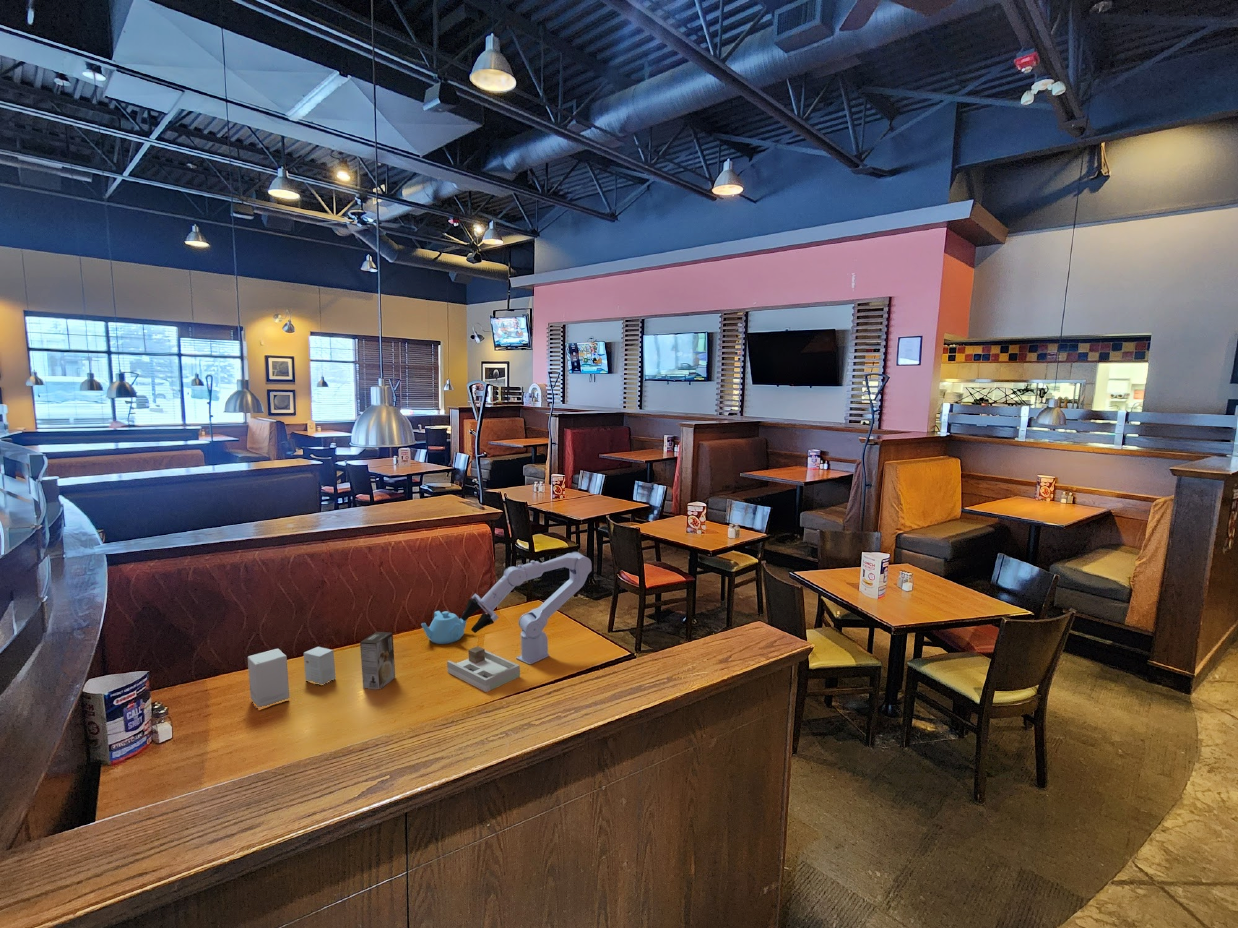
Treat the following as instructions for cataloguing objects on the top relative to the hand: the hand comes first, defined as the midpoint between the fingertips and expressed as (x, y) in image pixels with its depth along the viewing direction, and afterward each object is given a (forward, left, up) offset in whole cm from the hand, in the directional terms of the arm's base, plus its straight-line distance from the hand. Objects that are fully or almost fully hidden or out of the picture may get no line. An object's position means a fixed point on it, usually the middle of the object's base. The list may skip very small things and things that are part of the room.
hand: (467, 625), depth 199 cm
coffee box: (+24, -16, -17) cm, 34 cm away
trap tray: (-2, +6, -17) cm, 18 cm away
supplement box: (+52, -31, -17) cm, 63 cm away
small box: (+36, -33, -17) cm, 52 cm away
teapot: (-12, -32, -17) cm, 38 cm away
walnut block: (-5, -2, -15) cm, 15 cm away
